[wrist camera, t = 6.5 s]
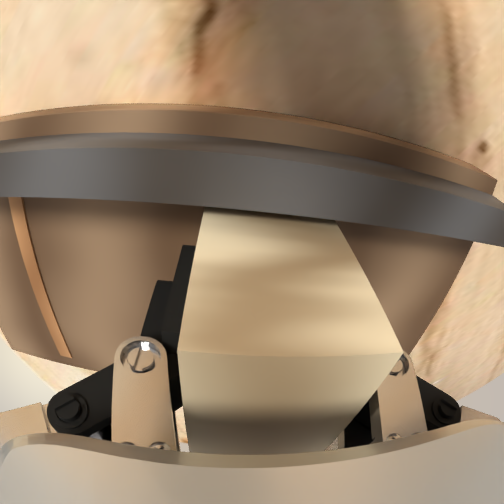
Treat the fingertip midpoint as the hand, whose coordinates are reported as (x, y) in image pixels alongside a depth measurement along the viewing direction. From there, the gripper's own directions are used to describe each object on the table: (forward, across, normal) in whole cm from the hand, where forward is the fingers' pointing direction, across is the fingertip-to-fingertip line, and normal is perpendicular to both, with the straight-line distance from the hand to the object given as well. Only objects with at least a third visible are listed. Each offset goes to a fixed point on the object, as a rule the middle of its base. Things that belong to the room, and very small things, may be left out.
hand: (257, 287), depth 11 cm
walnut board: (+3, +3, +1) cm, 4 cm away
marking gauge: (+1, 0, +2) cm, 2 cm away
